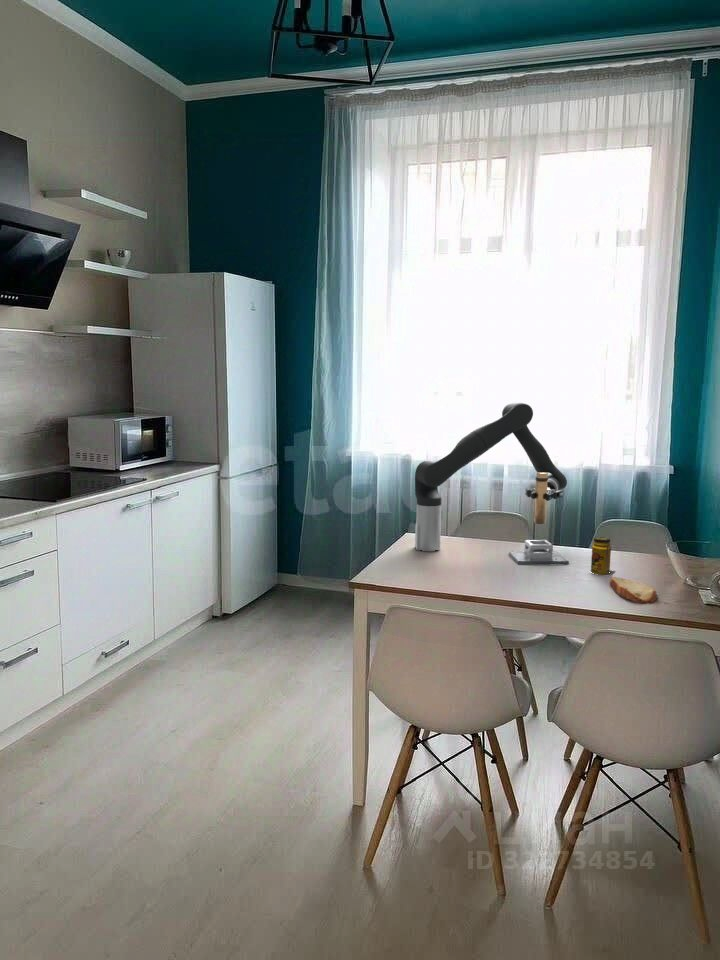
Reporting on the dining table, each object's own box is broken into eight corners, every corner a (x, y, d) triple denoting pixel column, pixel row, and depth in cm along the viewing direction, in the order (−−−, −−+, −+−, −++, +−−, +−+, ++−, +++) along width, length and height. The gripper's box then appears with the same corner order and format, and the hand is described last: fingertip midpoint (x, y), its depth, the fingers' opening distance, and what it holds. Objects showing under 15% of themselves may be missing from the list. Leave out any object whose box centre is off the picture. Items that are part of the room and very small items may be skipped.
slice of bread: (613, 582, 239) (614, 571, 239) (670, 593, 227) (671, 582, 227) (589, 593, 226) (590, 582, 226) (648, 607, 214) (649, 594, 214)
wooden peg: (535, 524, 262) (537, 474, 259) (532, 521, 266) (534, 472, 263) (547, 524, 262) (550, 474, 259) (544, 521, 266) (546, 472, 263)
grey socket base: (517, 564, 258) (518, 547, 257) (508, 554, 272) (509, 538, 271) (568, 564, 259) (569, 547, 258) (556, 554, 273) (557, 538, 272)
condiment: (586, 573, 248) (588, 538, 246) (594, 568, 255) (596, 534, 253) (608, 577, 244) (610, 541, 242) (615, 571, 251) (618, 537, 249)
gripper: (528, 478, 277) (520, 484, 262) (566, 480, 272) (561, 487, 256) (527, 497, 279) (519, 505, 263) (565, 500, 273) (560, 508, 258)
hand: (540, 496), depth 260 cm, fingers closed on wooden peg, 4 cm apart
